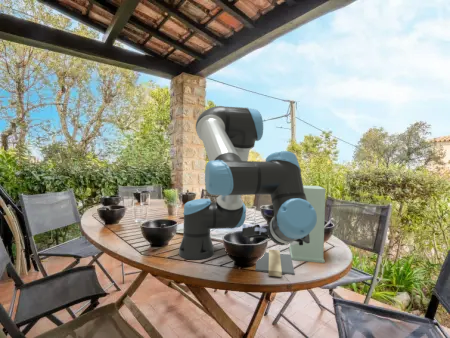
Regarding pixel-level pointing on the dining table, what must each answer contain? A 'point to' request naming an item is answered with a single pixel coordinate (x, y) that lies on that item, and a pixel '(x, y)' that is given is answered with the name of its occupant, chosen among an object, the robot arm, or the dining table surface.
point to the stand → (316, 245)
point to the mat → (285, 264)
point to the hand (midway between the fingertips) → (271, 238)
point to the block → (275, 263)
